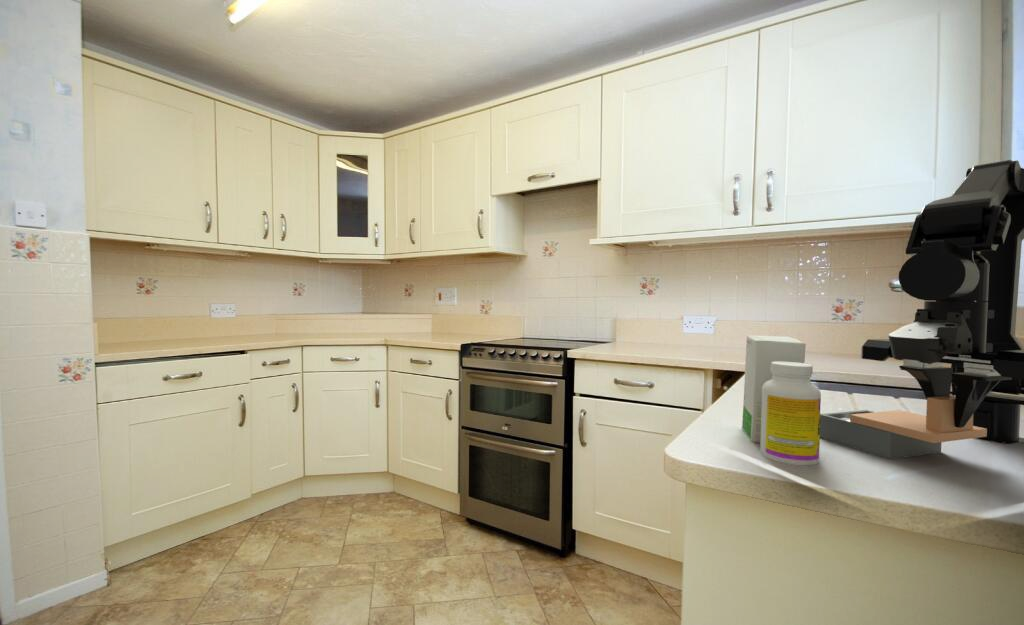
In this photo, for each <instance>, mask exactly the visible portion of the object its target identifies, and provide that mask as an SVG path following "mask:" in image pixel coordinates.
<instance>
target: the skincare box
mask: <svg viewBox="0 0 1024 625" xmlns="http://www.w3.org/2000/svg"><path fill="white" fill-rule="evenodd" d="M806 347H807V346H806V343H805V342H802V341H800V340H799V339H797V338H793V337H790V336H783V335H782V336H779V335H777V336H775V335H754V334H753V335H751V334H748V335H746V348H745V364H744V385H743V386H744V387H743V388H744V389H743V407H742V420H741V421H742V424H741V425H742V426H741V428H742V430H743V432H744V433H745V434H746V436H747V437H748V438H749V440H750V441H751V442H753V443H760V442H761V410H762V386H763V385H764V383H765V382H767V381H769V380H771V379H772V375H773V374H772V373H771V372H772V371H771V362H775V361H784V362H798V363H805V361H806Z"/></svg>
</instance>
